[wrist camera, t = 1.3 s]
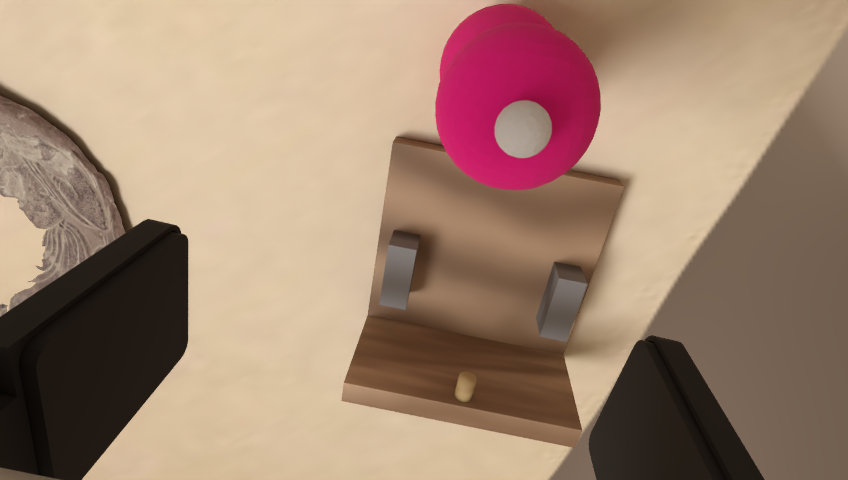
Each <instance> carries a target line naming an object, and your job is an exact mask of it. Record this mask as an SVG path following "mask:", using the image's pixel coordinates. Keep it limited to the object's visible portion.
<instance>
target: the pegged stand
mask: <svg viewBox="0 0 848 480" xmlns="http://www.w3.org/2000/svg"><path fill="white" fill-rule="evenodd" d="M623 189H624V186H623V185H622V183H621V182H620V181H619V180H616V179H611V178H606V177H601V176H596V175H590V174H585V173H580V172H575V171H570V170H568V171H567V172H566V173H565V174H563V175H562V176H560V177H558V178H557V179H555V180H554V181H552V182H550V183H547V184H545V185H542V186H539V187H536V188H533V189H526V190H504V189H498V188H492V187H489V186H487V185H484V184H482V183H479V182H477V181H476V180H474V179H472V178H471V177H469V176H467V175H466V174H465V173H464V172H463V171H462V170H461V169H459V168H458V167H457V166H456V165H455V163H454V162H453V161H452V159H451V158H450V156H449V155H448V154H447V152H446V150H445V148H444V146H441V145H436V144H430V143H425V142H420V141H415V140H410V139H405V138H400V137H396V138H395V140H394V141H393V146H392V152H391V159H390V166H389V173H388V180H387V187H386V194H385V200H384V207H383V214H382V221H381V228H380V235H379V241H378V248H377V255H376V262H375V269H374V276H373V283H372V289H371V296H370V303H369V310H368V316H367V319H366V322H365V325H364V327H363V330H362V333H361V336H360V339H359V342H358V344H357V347H356V350H355V353H354V356H353V359H352V361H351V364H350V367H349V370H348V373H347V375H346V378H345V381H344V386H343V394H342V401H345V402H350V403H355V404H360V405H365V406H370V407H375V408H380V409H385V410H390V411H395V412H400V413H405V414H410V415H415V416H419V417H424V418H429V419H434V420H439V421H444V422H449V423H454V424H459V425H464V426H469V427H474V428H479V429H484V430H489V431H494V432H499V433H504V434H509V435H514V436H519V437H524V438H529V439H534V440H539V441H543V442H548V443H553V444H558V445H563V446H568V447H573V448H575V446H576V444H577V442H578V439H579V437H580V435H581V432H582V428H581V424H580V420H579V416H578V412H577V408H576V404H575V400H574V396H573V391H572V387H571V383H570V379H569V375H568V371H567V367H566V363H565V359H564V355H563V354H564V351H565V349H566V346H567V343H568V340H569V338H570V335H571V332H572V329H573V327H574V324H575V321H576V318H577V316H578V313H579V310H580V307H581V305H582V302H583V299H584V296H585V294H586V291H587V288H588V285H589V283H590V280H591V277H592V275H593V272H594V269H595V266H596V264H597V261H598V258H599V255H600V253H601V250H602V247H603V244H604V242H605V239H606V236H607V233H608V231H609V228H610V225H611V222H612V220H613V217H614V214H615V211H616V209H617V206H618V203H619V200H620V198H621V195H622V192H623Z"/></svg>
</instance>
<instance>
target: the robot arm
mask: <svg viewBox="0 0 848 480" xmlns="http://www.w3.org/2000/svg"><path fill="white" fill-rule="evenodd" d="M187 343H188V238H187V236H186V235H184V234H181V231H180V228H179V227H178V226H177V225H172V224H168V223H164V222H159V221H155V220H150V219H147V220H145V221H143V222H141V223H140V224H138V225H137V226H135V227H134V228H132V229H131V230H129V231H128V232H126V233H125V234H123V235H122V236H120V237H119V238H117V239H116V240H114V241H113V242H111V243H110V244H108V245H107V246H105V247H104V248H102V249H101V250H99V251H98V252H96V253H95V254H93V255H92V256H90V257H89V258H87V259H86V260H84V261H83V262H81V263H80V264H78V265H77V266H75V267H74V268H72V269H71V270H69V271H68V272H66V273H65V274H63V275H62V276H60V277H59V278H57V279H56V280H54V281H53V282H51V283H50V284H48V285H47V286H45V287H44V288H42V289H41V290H39V291H38V292H36V293H35V294H33V295H32V296H30V297H29V298H27V299H26V300H24V301H23V302H21V303H20V304H18V305H17V306H15V307H14V308H12V309H11V310H9V311H8V312H6V313H5V314H3V315H2V316H0V480H82V479H83V477H84V476H85V475H86V474H87V472H88V471H89V470H90V469H91V468H92V466H93V465H94V464H95V463H96V461H97V460H98V459H99V458H100V457H101V455H102V454H103V453H104V452H105V450H106V449H107V448H108V447H109V446H110V444H111V443H112V442H113V441H114V439H115V438H116V437H117V436H118V435H119V433H120V432H121V431H122V430H123V429H124V427H125V426H126V425H127V424H128V422H129V421H130V420H131V419H132V418H133V416H134V415H135V414H136V413H137V411H138V410H139V409H140V408H141V407H142V405H143V404H144V403H145V402H146V400H147V399H148V398H149V397H150V396H151V394H152V393H153V392H154V391H155V389H156V388H157V387H158V386H159V385H160V383H161V382H162V381H163V380H164V378H165V377H166V376H167V375H168V374H169V372H170V371H171V370H172V369H173V367H174V366H175V365H176V364H177V363H178V361H179V360H180V359H181V358H182V356H183V354H184V352H185V350H186V347H187ZM589 451H590V455H591V460H592V463H593V467H594V471H595V475H596V479H597V480H764V478H763V476H762V475H761V473H760V471H759V470H758V468H757V466H756V465H755V463H754V461H753V460H752V458H751V456H750V455H749V453H748V452H747V450H746V448H745V447H744V445H743V443H742V442H741V440H740V438H739V437H738V435H737V433H736V432H735V430H734V428H733V427H732V425H731V423H730V422H729V420H728V418H727V417H726V415H725V413H724V412H723V410H722V409H721V407H720V405H719V404H718V402H717V400H716V399H715V397H714V395H713V394H712V392H711V390H710V389H709V387H708V385H707V384H706V382H705V380H704V379H703V377H702V375H701V374H700V372H699V370H698V369H697V367H696V365H695V364H694V362H693V360H692V359H691V357H690V356H689V354H688V352H687V351H686V349H685V347H684V346H683V344H682V343H681V342H678V341H674V340H670V339H665V338H661V337H656V336H649V337H647V338H646V339H645V341H643V340H639V341H638V342H637V343H636V344H635V346H634V347H633V349H632V351H631V353H630V355H629V357H628V359H627V361H626V363H625V365H624V367H623V369H622V371H621V373H620V375H619V377H618V379H617V381H616V383H615V386H614V388H613V390H612V392H611V394H610V396H609V398H608V400H607V402H606V404H605V406H604V408H603V410H602V412H601V414H600V416H599V418H598V420H597V422H596V424H595V426H594V428H593V430H592V432H591V435H590V438H589Z"/></svg>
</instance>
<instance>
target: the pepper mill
mask: <svg viewBox="0 0 848 480" xmlns="http://www.w3.org/2000/svg"><path fill="white" fill-rule="evenodd" d="M600 110H601V103H600V89H599V84H598V79H597V76H596V74H595V71H594V69H593V66H592V64H591V63H590V61H589V60H588V58H587V57H586V55H585V54H584V53H583V51H582V50H581V49H580V48H579V47H578V45H577V44H576V43H574V42H573V41H572V40H571V39H570V38H568V37H567V36H566V35H564V34H562V33H561V32H559V31H557V30H555V29H554V28H553V27H552V25H551V24H550V23H549V22H548V21H547V20H546V19H545V18H544V17H542V16H541V15H539V14H538V13H536V12H535V11H533V10H531V9H528V8H526V7H523V6H518V5H514V4H498V5H494V6H490V7H486V8H483V9H481V10H479V11H477V12H475V13H473V14H472V15H470V16H469V17H467V18H466V19H465V20H464V21H463V22H462V23H460V24H459V26H458V27H457V28H456V29H455V30H454V31H453V33H452V35H451V36H450V38H449V39H448V41H447V44H446V46H445V48H444V51H443V54H442V58H441V65H440V83H439V87H438V92H437V98H436V115H435V116H436V123H437V130H438V133H439V136H440V139H441V142H442V144H443V146H444V148H445V150H446V152H447V154H448V155H449V156H450V158H451V159H452V161H453V162H454V163H455V165H456V166H457V167H458V168H459V169H461V170H462V171H463V172H464V173H465V174H466V175H467V176H469V177H471V178H472V179H474V180H476V181H477V182H479V183H482V184H484V185H487V186H489V187H492V188H498V189H504V190H526V189H533V188H536V187H539V186H542V185H545V184H547V183H550V182H552V181H554V180H555V179H557V178H558V177H560V176H562V175H563V174H565V173H566V172H567V171H568V170H569V169H570V168H572V167H573V166H574V165H575V164H576V163H577V162H578V161H579V159H580V158H581V157H582V156H583V154H584V153H585V152H586V150H587V149H588V147H589V145H590V143H591V141H592V139H593V137H594V134H595V131H596V128H597V125H598V121H599V116H600Z"/></svg>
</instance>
